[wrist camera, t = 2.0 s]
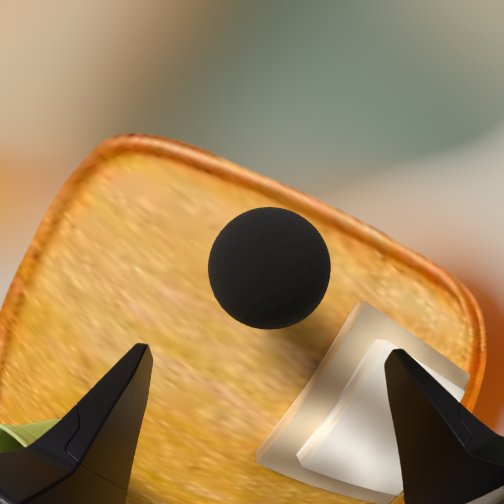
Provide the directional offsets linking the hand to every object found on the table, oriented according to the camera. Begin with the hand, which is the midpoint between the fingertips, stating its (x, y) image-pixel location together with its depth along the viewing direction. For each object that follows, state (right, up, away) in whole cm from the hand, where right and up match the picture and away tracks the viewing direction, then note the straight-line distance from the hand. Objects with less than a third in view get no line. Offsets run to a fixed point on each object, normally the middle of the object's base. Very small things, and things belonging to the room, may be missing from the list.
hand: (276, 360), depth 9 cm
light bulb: (0, +1, +11) cm, 11 cm away
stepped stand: (+9, -10, +9) cm, 16 cm away
